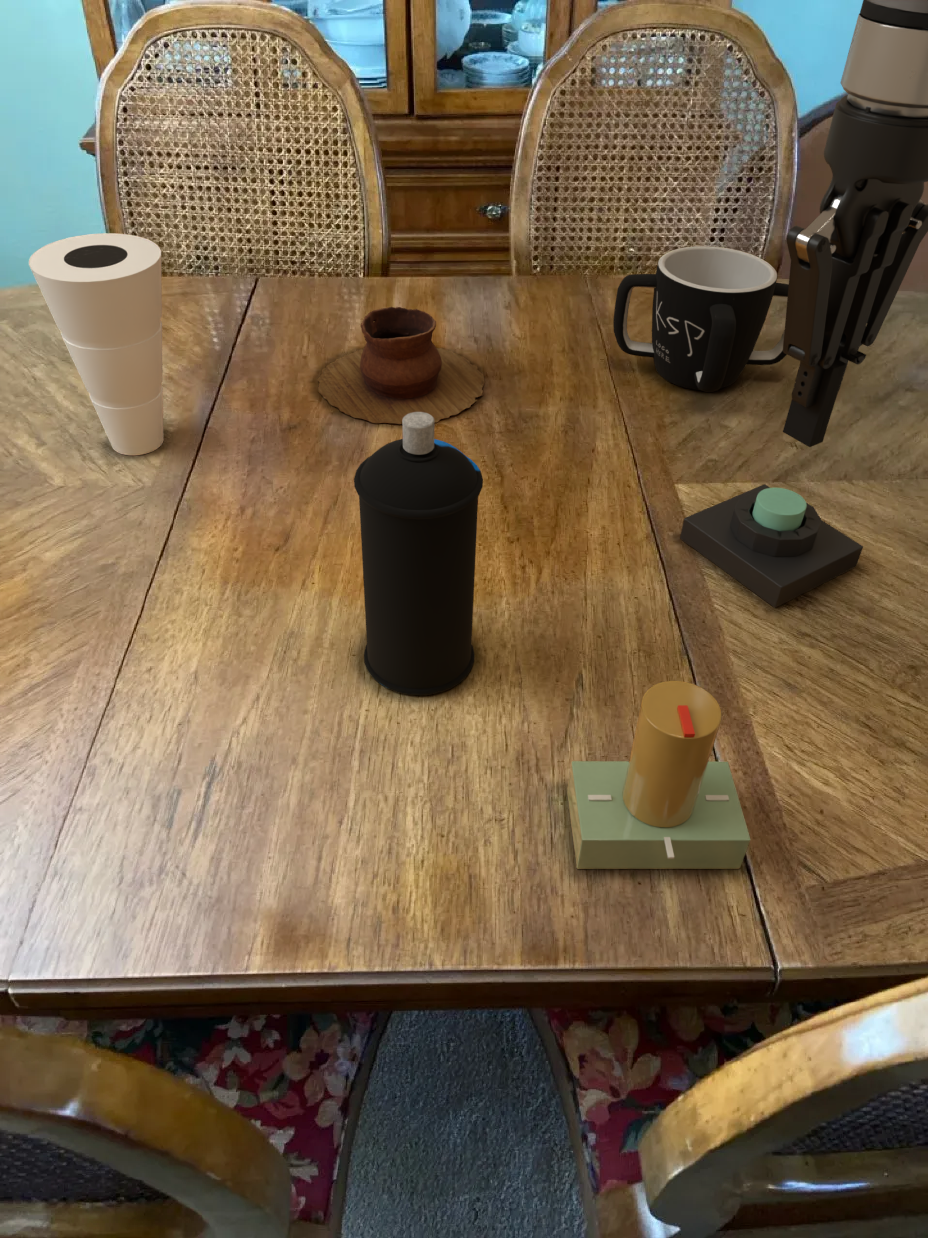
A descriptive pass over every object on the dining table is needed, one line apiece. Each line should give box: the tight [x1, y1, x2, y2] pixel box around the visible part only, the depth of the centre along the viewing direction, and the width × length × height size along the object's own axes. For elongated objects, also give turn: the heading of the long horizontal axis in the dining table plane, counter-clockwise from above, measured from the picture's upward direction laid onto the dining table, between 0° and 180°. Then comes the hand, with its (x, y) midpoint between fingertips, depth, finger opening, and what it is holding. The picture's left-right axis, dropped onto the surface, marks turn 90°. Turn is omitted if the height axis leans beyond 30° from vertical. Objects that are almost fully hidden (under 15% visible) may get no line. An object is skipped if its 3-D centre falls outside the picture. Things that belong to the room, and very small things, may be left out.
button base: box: [679, 483, 864, 609], centre depth 81 cm, size 11×10×4 cm
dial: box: [622, 680, 723, 828], centre depth 56 cm, size 4×4×8 cm
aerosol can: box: [353, 412, 484, 696], centre depth 65 cm, size 8×8×20 cm
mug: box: [612, 245, 789, 393], centre depth 103 cm, size 16×16×12 cm
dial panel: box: [566, 760, 752, 870], centre depth 60 cm, size 10×9×3 cm
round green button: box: [752, 487, 807, 531], centre depth 80 cm, size 4×4×2 cm
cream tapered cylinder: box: [28, 232, 164, 456], centre depth 87 cm, size 11×11×18 cm
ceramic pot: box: [316, 306, 486, 425], centre depth 101 cm, size 18×18×7 cm
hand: (802, 436), depth 75 cm, fingers closed
